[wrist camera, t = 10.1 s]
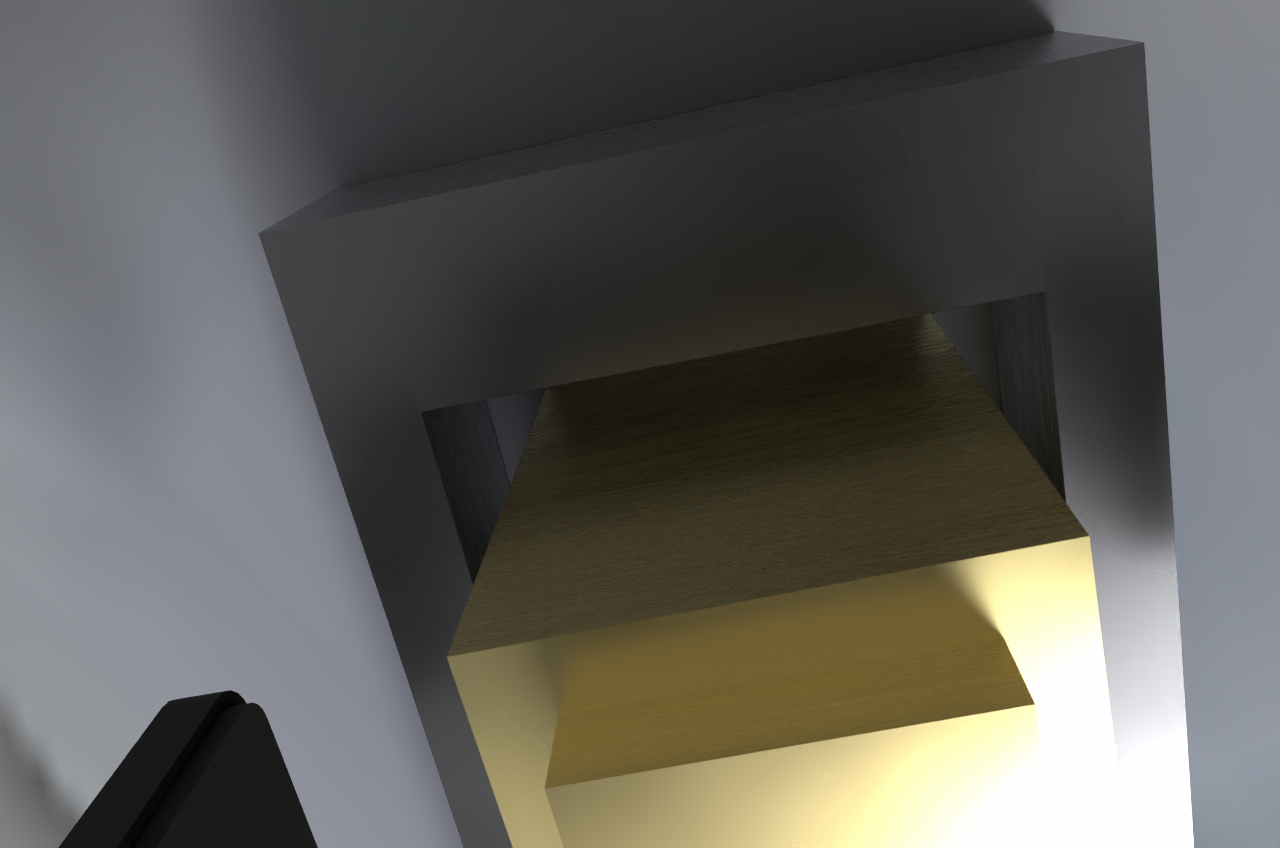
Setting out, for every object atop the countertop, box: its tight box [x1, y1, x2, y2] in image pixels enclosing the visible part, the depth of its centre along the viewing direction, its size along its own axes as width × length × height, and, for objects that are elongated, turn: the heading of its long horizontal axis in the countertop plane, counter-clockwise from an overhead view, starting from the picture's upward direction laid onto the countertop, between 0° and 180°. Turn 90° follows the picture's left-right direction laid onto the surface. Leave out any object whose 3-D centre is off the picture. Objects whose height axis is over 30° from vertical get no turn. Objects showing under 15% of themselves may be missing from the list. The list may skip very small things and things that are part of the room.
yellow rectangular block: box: [447, 313, 1127, 848], centre depth 11 cm, size 4×4×7 cm
